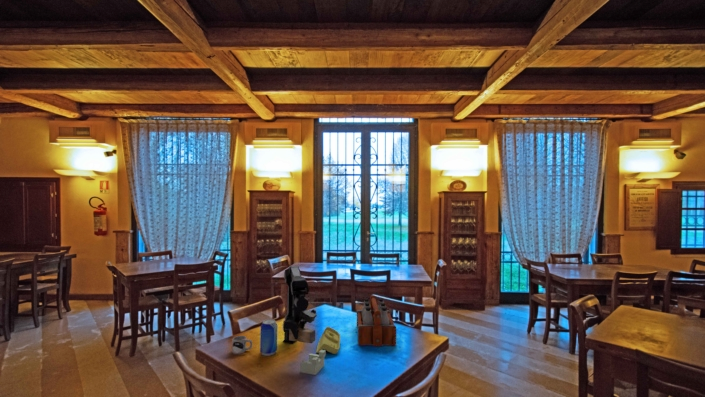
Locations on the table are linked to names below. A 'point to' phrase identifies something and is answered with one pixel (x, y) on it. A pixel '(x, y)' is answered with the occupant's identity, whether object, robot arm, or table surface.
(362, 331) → the milk bottle holder
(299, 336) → the rail
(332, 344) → the plastic component
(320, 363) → the posts
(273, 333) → the beer can
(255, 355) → the table surface
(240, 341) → the mug
